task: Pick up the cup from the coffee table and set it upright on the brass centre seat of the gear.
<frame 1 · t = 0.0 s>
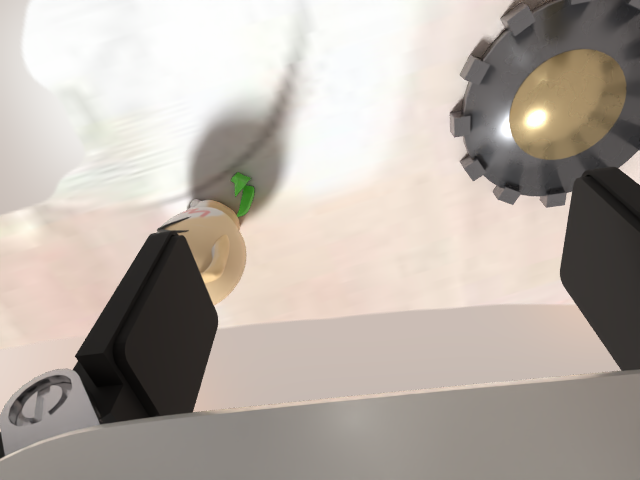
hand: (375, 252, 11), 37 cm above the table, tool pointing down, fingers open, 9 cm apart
gear: (560, 104, 45), on the table
kitten: (216, 215, 54), on the table
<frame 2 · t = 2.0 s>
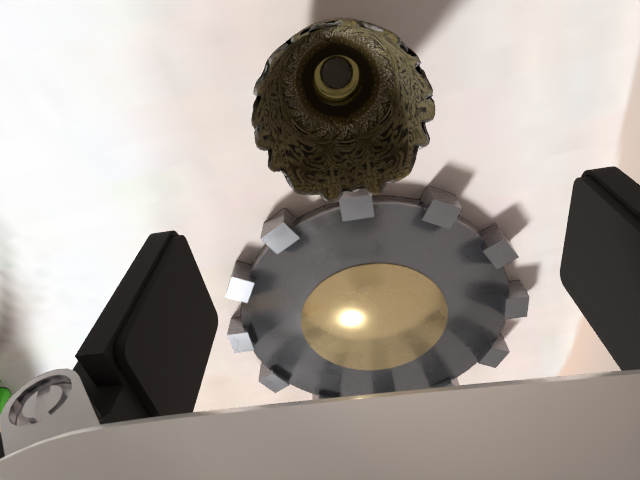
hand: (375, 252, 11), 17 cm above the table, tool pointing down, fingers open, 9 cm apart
gear: (372, 309, 34), on the table
cup: (336, 71, 25), on the table
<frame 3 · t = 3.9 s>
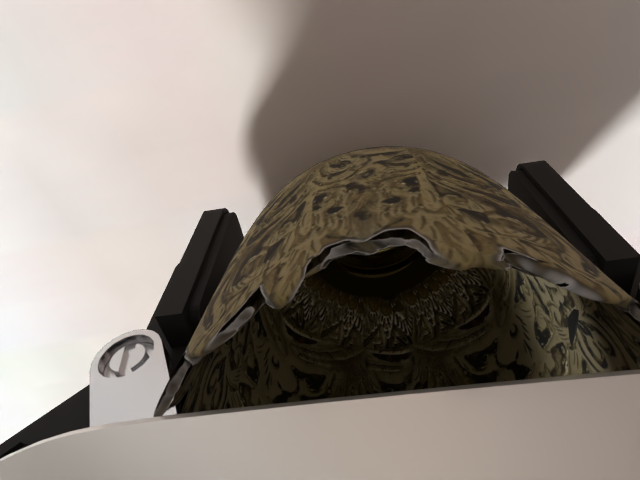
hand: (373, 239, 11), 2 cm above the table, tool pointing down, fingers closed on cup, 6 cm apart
cup: (369, 202, 13), on the table, touching gripper
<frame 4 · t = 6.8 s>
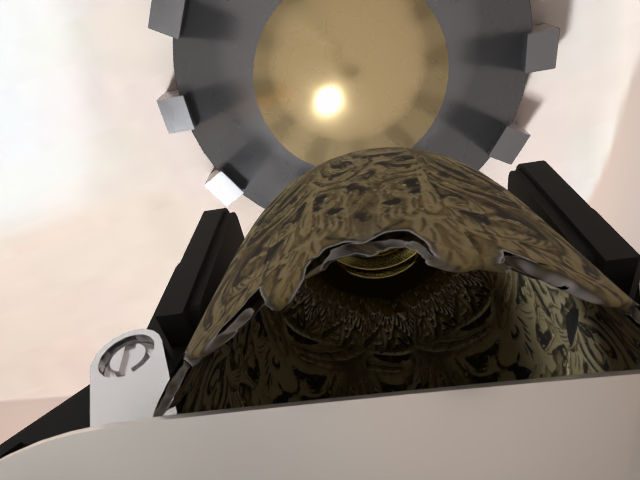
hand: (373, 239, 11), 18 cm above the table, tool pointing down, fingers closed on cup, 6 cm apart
gear: (349, 76, 26), on the table
cup: (371, 203, 13), point 16 cm above the table, touching gripper
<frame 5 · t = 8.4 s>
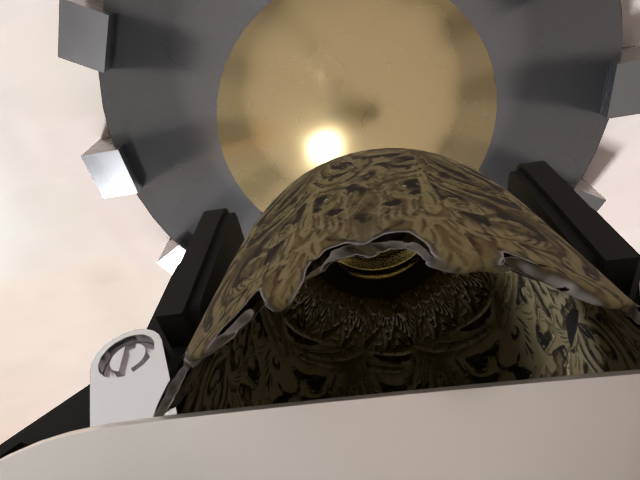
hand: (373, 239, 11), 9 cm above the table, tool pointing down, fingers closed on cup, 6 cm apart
gear: (353, 119, 19), on the table
cup: (371, 203, 13), point 7 cm above the table, touching gripper
when the fingers open (5 cm above the table, at t = 9.8 s): cup drops 1 cm, resting on gear.
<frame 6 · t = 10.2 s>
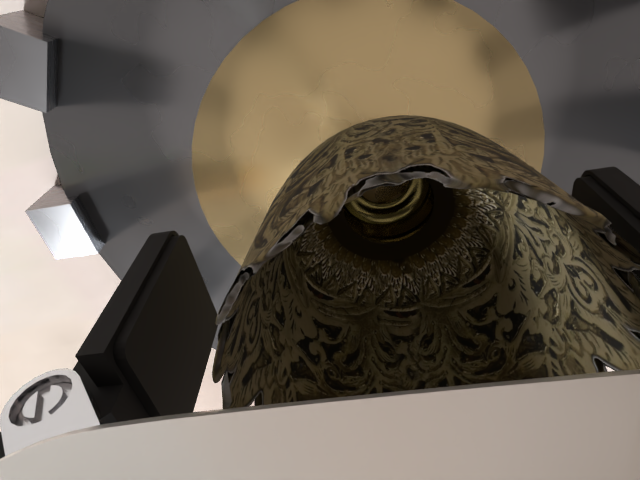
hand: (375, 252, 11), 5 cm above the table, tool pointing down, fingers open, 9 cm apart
gear: (362, 163, 15), on the table
cup: (382, 176, 14), point 1 cm above the table, touching gear
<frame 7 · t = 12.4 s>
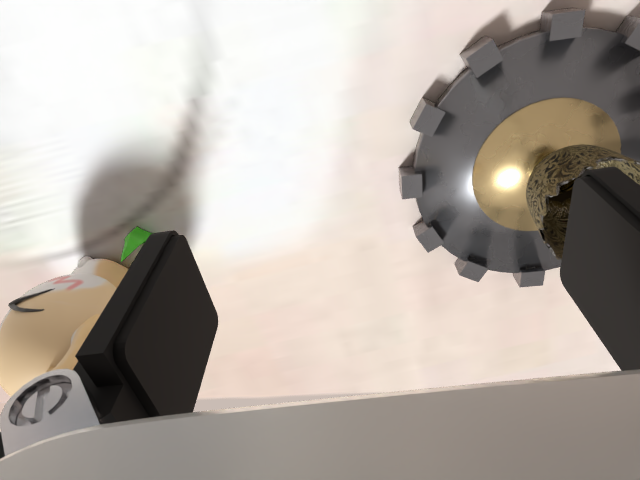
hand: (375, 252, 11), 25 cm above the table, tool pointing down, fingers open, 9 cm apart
gear: (537, 163, 36), on the table
cup: (551, 168, 35), point 1 cm above the table, touching gear
kitten: (115, 275, 43), on the table
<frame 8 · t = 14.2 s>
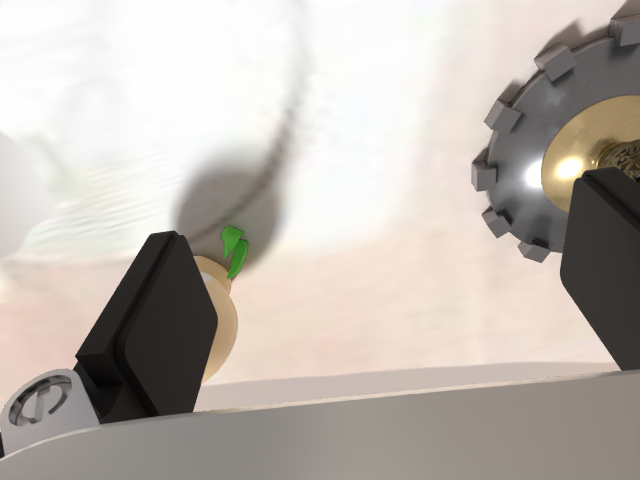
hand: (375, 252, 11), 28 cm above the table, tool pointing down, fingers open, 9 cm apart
gear: (599, 153, 39), on the table
cup: (613, 158, 38), point 1 cm above the table, touching gear
kitten: (204, 270, 48), on the table
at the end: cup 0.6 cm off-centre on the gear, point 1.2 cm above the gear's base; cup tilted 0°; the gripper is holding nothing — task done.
